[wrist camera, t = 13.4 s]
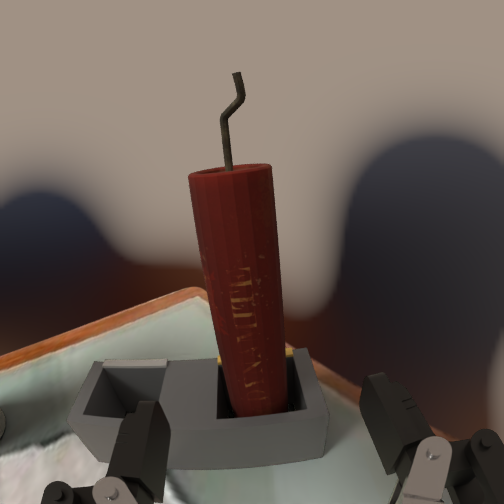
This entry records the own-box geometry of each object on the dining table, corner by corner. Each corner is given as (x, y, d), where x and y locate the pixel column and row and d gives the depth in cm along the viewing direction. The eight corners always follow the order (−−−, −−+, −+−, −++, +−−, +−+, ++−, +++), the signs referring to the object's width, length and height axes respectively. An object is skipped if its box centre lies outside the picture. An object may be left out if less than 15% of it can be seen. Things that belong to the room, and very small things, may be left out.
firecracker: (241, 455, 23) (171, 73, 13) (237, 418, 28) (181, 90, 18) (294, 447, 24) (268, 62, 13) (284, 410, 28) (256, 81, 18)
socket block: (98, 461, 22) (64, 418, 19) (116, 404, 30) (93, 359, 27) (322, 457, 22) (329, 412, 20) (305, 394, 30) (306, 345, 28)
